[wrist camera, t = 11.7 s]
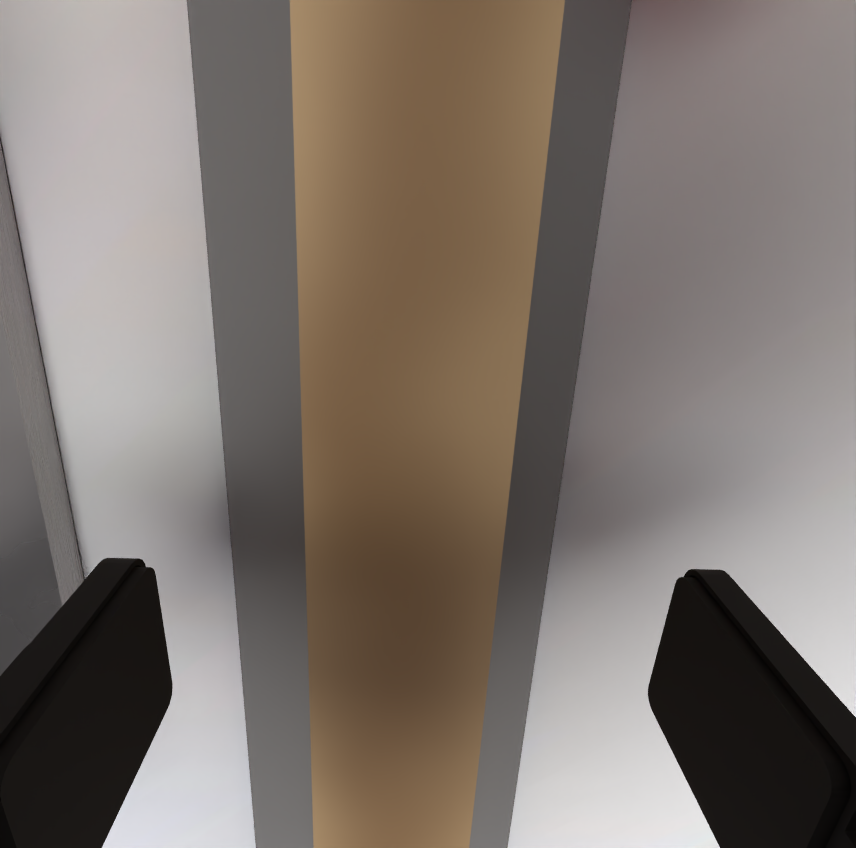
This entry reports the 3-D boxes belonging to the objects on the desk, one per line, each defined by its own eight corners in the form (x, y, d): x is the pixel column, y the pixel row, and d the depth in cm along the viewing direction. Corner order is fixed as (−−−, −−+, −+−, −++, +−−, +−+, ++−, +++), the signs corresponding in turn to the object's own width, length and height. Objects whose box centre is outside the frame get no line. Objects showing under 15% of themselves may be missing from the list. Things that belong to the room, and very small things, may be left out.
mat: (622, -11, 10) (635, -25, 10) (499, 862, 19) (502, 881, 18) (194, -49, 10) (181, -66, 9) (263, 869, 18) (259, 889, 18)
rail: (513, 32, 10) (571, -59, 7) (442, 843, 18) (453, 985, 14) (322, 16, 10) (287, -87, 7) (332, 846, 17) (317, 991, 14)
